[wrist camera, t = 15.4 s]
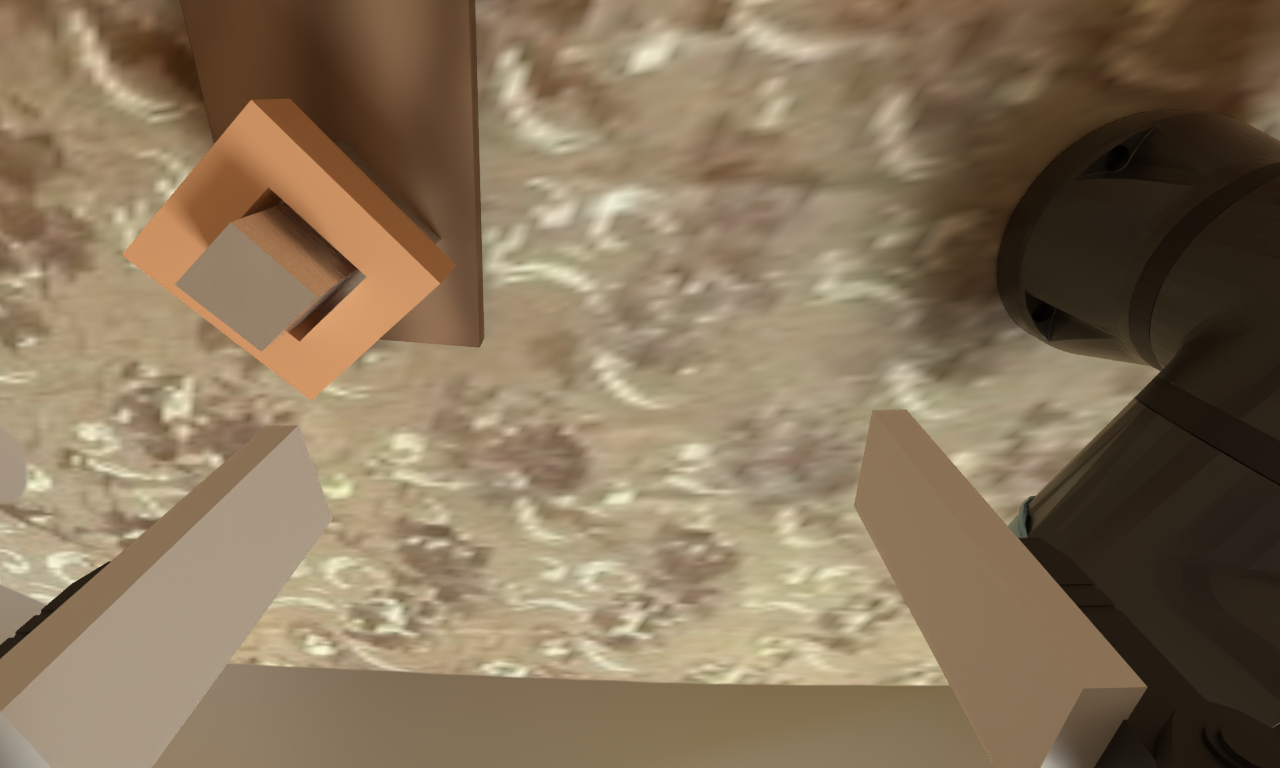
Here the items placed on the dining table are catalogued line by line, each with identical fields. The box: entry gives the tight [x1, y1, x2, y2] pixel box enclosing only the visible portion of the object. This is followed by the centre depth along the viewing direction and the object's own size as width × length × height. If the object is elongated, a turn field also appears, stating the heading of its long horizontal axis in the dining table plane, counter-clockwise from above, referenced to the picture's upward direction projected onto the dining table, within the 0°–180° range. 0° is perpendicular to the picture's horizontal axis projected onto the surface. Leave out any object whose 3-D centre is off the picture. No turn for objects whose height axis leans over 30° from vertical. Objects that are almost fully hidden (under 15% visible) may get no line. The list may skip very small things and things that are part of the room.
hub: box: [175, 141, 441, 352], centre depth 28 cm, size 7×7×11 cm
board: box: [180, 0, 484, 347], centre depth 29 cm, size 14×32×2 cm, turn 174°
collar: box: [122, 99, 456, 400], centre depth 27 cm, size 10×10×3 cm
